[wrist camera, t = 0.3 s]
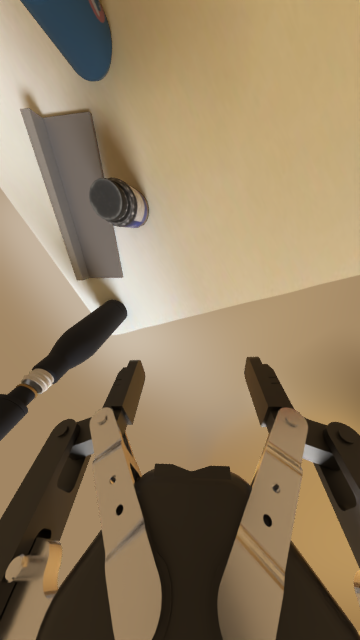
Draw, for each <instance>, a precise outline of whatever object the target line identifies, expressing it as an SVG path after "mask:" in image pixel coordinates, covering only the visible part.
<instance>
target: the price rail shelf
mask: <svg viewBox="0 0 360 640" xmlns="http://www.w3.org/2000/svg"><path fill="white" fill-rule="evenodd" d="M20 111H21V114H22V117H23V120H24V123H25V126H26V129H27V132H28V135H29V138H30V141H31V144H32V147H33V150H34V153H35V156H36V159H37V162H38V165H39V168H40V171H41V174H42V177H43V180H44V183H45V186H46V189H47V192H48V195H49V198H50V201H51V204H52V207H53V210H54V213H55V216H56V219H57V222H58V225H59V228H60V231H61V234H62V237H63V240H64V243H65V246H66V249H67V252H68V255H69V258H70V261H71V264H72V267H73V270H74V273H75V276H76V279H77V280H85V279H87V278H122V277H123V273H122V268H121V263H120V258H119V253H118V248H117V242H116V237H115V232H114V227H113V225H112V224H110V223H109V222H107V221H106V220H105V219H103V218H101V217H100V216H98V215H97V214H96V212H95V211H94V210H93V208H92V206H91V203H90V199H89V191H90V187H91V185H92V183H93V182H94V181H95V180H97V179H99V178H104V176H103V171H102V165H101V160H100V155H99V150H98V145H97V140H96V135H95V129H94V124H93V119H92V114H91V113H90V112H83V113H76V114H68V115H61V116H53V117H45V118H42V117H41V116H39V115H38V114H36V113H35V112H34V111H32V110H31V109H30V108H25V109H20Z"/></svg>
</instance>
